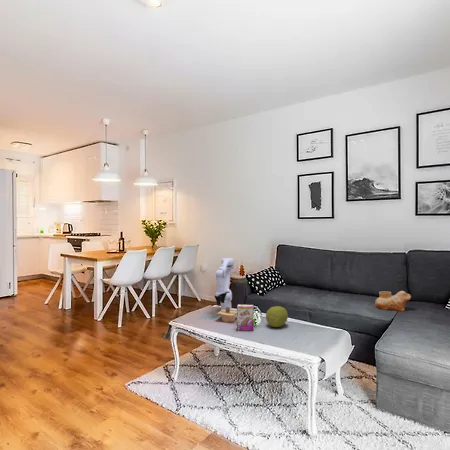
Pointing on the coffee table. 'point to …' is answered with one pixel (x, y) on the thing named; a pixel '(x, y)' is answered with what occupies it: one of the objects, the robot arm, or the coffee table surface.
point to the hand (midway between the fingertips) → (220, 303)
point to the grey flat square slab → (209, 316)
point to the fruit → (276, 316)
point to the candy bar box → (245, 317)
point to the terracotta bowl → (228, 319)
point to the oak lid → (227, 312)
